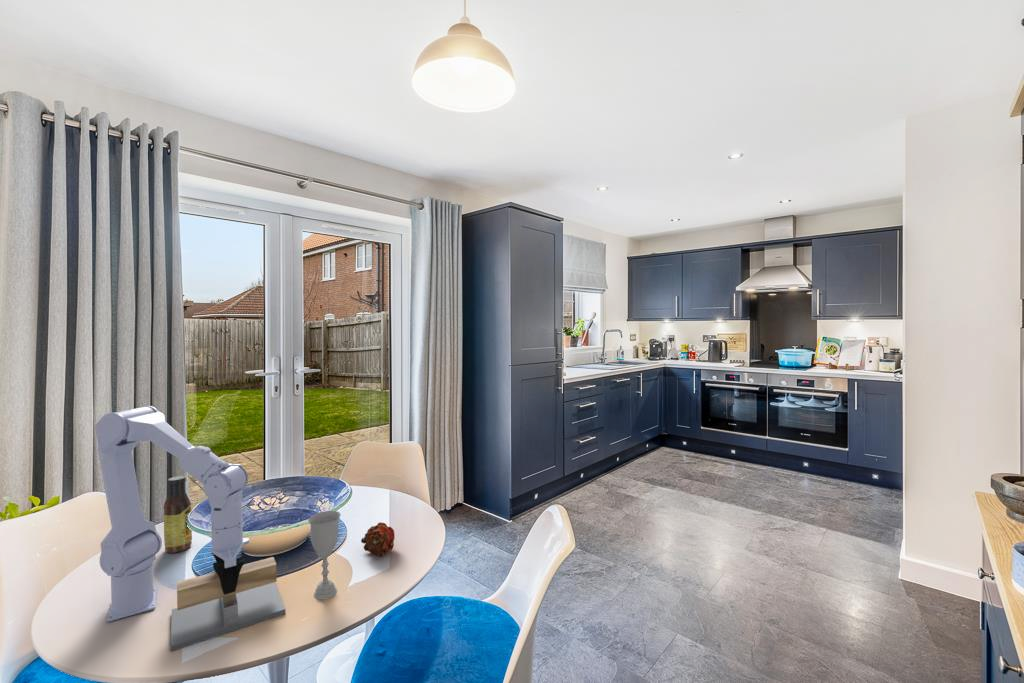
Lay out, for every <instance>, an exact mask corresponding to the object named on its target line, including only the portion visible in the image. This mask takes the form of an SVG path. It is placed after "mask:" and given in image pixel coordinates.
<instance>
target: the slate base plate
mask: <svg viewBox="0 0 1024 683" xmlns="http://www.w3.org/2000/svg"><path fill="white" fill-rule="evenodd" d="M236 598H237V603H238V623H237V624H233V625H230V626H227V627H224V621H223V613H222V606H221V599H220V598H219V599H215V600H212V601H209V602H205V603H202V604H198V605H195V606H191V607H188V608H184V609H181V610H178V611H177V607H176V608H172V609H171V624H170V626H171V627H170V628H171V630H170V652H173V651H176V650H179V649H182V648H186V647H188V645H189V646H191V645H190V644H192V645H194V643H195V644H198V643H200V642H203V641H206V640H209V639H213V638H215V637H218V636H221V635H225V634H227V633H230V632H231V633H232V632H233V631H237V630H240V629H242V628H246V627H248V626H251V625H255V624H259V623H261V622H264V621H267V620H270V619H273V618H276V617H280V616H282V615H284V614H285V615H286V607H285V604H284V601H283V599H282V596H281V594H280V591H279V588H278V585H277V582H274V583H270V584H267V585H264V586H260V587H257V588H253V589H250V590H246V591H243V592H239V593H236ZM197 642H198V643H197ZM185 646H186V647H185Z"/></svg>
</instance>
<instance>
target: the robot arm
mask: <svg viewBox="0 0 1024 683" xmlns="http://www.w3.org/2000/svg"><path fill="white" fill-rule="evenodd" d="M94 429H95V435H96V440H97V454H98V459H99V464H100V469H101V470H100V471H101V475H102V482H103V486H104V493H105V496H106V497H105V498H106V505H107V508H108V513H109V521H110V525H111V529H110V530H109V532H108V533H107V534H106V536H105V537H104V538H103V539H102V541H101V542H100V550H101V551H100V556H99V567H100V568H101V571H103V572H104V573H105V574H106V575H107V576H109V577H110V592H111V593H110V595H111V602H110V603H111V604H110V607H109V610H108V615H107V620H106V621H107V622H108V623H109V622H113V621H116V620H120V619H123V618H126V617H131V616H134V615H137V614H141V613H145V612H149V611H151V610H154V609H155V608H156V605H157V596H158V595H157V593H158V587H156V586H155V587H154V561H155V560H156V556H157V555H158V553H159V552H160V551H161V549H162V546H163V544H162V542H163V540H162V537H161V535H160V534H159V532H158V531H157V528H156V524H155V522H152V521H149V520H146V519H144V512H143V508H142V504H141V503H142V502H141V497H140V491H139V490H140V489H139V486H138V480H137V475H136V474H137V473H136V468H135V464H134V463H135V462H134V458H133V457H134V456H133V450H134V449H135V448H136V447H137V445H139V443H140V442H143V441H145V442H146V441H150V442H151V443H152V444H155V445H156V446H158V447H160V448H161V449H163V450H164V451H165V452H167V453H169V454H171V455H172V456H173V457H176V458H178V460H179V467H180V469H182V470H183V471H184V472H186V473H187V474H188V475H189V476H191V477H192V478H193V479H195V480H196V481H197V482H200V484H202V488H203V492H204V494H205V496H206V497H207V498H208V505H209V506H210V517H211V518H210V520H211V521H210V523H211V526H210V527H211V528H210V529H211V546H210V553H211V554H212V556H213V557H214V560H215V562H213V563H212V567H213V570H214V572H216V573H217V574H218V576H219V579H220V582H221V587H222V591H223V594H224V595H225V594H229V593H232V592H235V590H236V587H237V582H238V577H239V573H240V571H241V568H242V566H243V565H244V564H245V562H246V559H245V557H244V556H242V557H239V558H237V557H238V554H239V553H240V551H241V550H242V548H243V547H244V546H245V545H248V544H249V543H250V538H249V537H244V532H243V529H244V528H243V522H244V521H243V489H244V488H245V487H246V485H247V484H248V482H249V475H248V472H247V471H246V469H245V468H244V467H243V465H241V464H239V463H230V462H227V461H225V460H223V459H222V458H221V457H219V456H218V455H216V454H215V453H214V452H212V449H211V448H210V447H209V446H204V445H198V446H194V445H193V444H192V443H191V442H190V441H188V439H186V438H185V437H184V436H183V435H182V434H180V433H179V432H178V431H177V430H176V429H174V427H172V426H171V425H170V424H169V423H168V422H166V415H165V414H164V413H162V412H160V411H159V410H158V409H157V408H156V407H155V406H152V405H144V406H141V407H137V408H131V409H126V410H122V411H116V412H107V413H105V414H104V415H102V417H101V418H100V419H99V420H98V421H97V422H96V423H95V425H94Z"/></svg>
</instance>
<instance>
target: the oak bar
mask: <svg viewBox="0 0 1024 683" xmlns="http://www.w3.org/2000/svg"><path fill="white" fill-rule="evenodd" d="M277 578H278V576H277V562H276V559H275V557H273V556H271V557H267V558H265V559H259V560H256V561H253V562H249V563H244V565H243V566H242V568H241V571H240V573H239V577H238V582H237V587H236V590H235V592H232V593H229V594H225V595H224V594H223V591H222V587H221V582H220V579H219V576H218V574H217V573H216V572H215V571H214V572H210V573H207V574H202V575H199V576H194V577H191V578H187V579H185V580H184V579H183V580H180V581H179V580H178V581H177V582H176V600H177V601H176V606H177V607H176V608H177V611H178V610H181V609H184V608H188V607H191V606H195V605H198V604H202V603H205V602H209V601H212V600H215V599H219V598H222V597H226V596H229V595H233V594H236V593H239V592H243V591H246V590H250V589H253V588H257V587H260V586H264V585H267V584H270V583H274V582H276V583H277V582H278V581H277V580H278V579H277Z"/></svg>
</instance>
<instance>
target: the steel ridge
mask: <svg viewBox="0 0 1024 683" xmlns="http://www.w3.org/2000/svg"><path fill="white" fill-rule="evenodd" d="M220 599H221V606H222V613H223V621H224V627H227V626H230V625H233V624H237V623H238V603H237V598H236V594H233V595H229V596H226V597H222V598H220Z"/></svg>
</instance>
